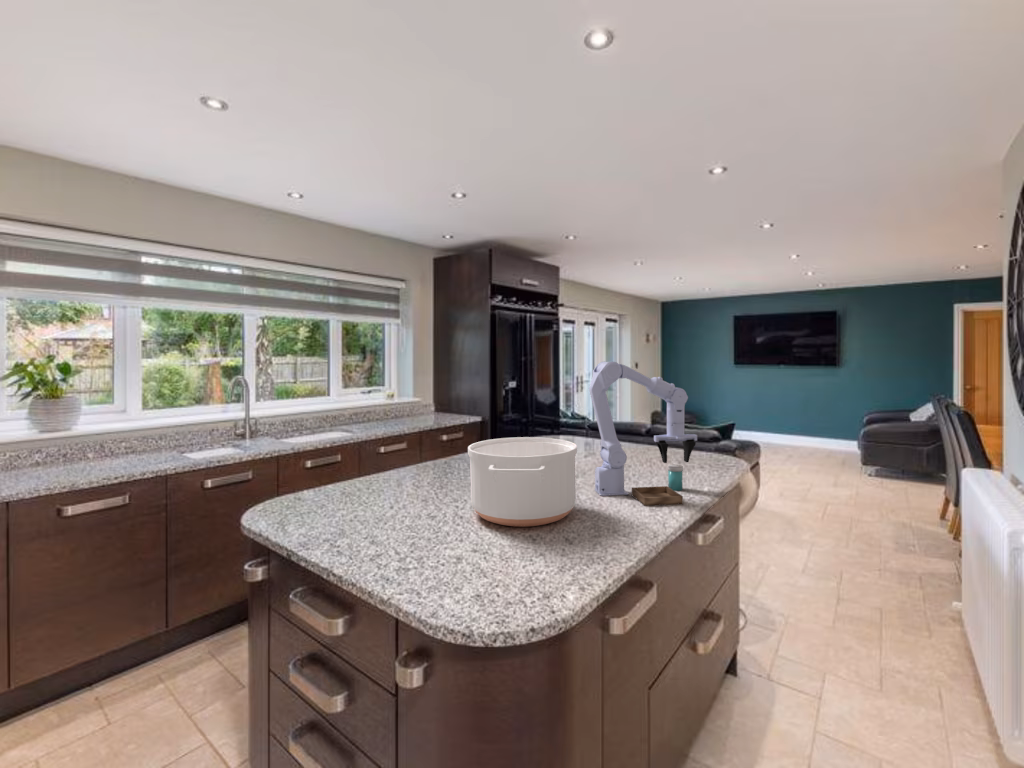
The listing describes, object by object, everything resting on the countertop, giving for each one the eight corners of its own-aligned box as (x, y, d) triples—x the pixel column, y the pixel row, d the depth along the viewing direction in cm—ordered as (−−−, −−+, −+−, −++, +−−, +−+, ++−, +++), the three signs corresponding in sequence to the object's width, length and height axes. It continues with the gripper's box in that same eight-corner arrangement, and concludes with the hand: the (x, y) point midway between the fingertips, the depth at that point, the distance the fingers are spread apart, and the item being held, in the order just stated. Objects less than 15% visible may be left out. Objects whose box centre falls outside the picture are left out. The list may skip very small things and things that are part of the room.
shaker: (671, 491, 164) (671, 467, 164) (665, 487, 169) (665, 464, 169) (685, 490, 165) (685, 467, 164) (679, 487, 170) (679, 464, 169)
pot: (580, 541, 121) (579, 461, 120) (454, 538, 125) (452, 460, 124) (576, 494, 162) (575, 434, 161) (481, 493, 166) (480, 434, 165)
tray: (644, 505, 149) (644, 497, 149) (631, 495, 161) (631, 487, 161) (682, 504, 150) (682, 496, 150) (667, 493, 162) (667, 486, 162)
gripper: (659, 424, 161) (659, 465, 162) (701, 423, 163) (701, 463, 163) (651, 421, 168) (651, 460, 169) (692, 420, 170) (691, 459, 170)
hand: (675, 462), depth 167 cm, fingers open, 7 cm apart
